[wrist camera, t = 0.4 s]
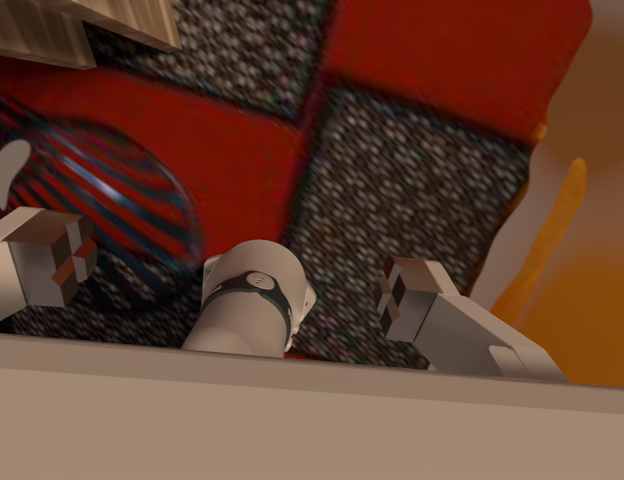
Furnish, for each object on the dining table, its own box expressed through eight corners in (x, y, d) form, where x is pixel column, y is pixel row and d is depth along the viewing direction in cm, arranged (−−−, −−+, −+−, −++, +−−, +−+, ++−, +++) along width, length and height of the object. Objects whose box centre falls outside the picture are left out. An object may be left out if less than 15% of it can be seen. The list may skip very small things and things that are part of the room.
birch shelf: (166, -12, 44) (-31, -169, 19) (182, 49, 46) (24, -21, 22) (62, 10, 45) (-246, -110, 21) (83, 70, 47) (-172, 24, 23)
